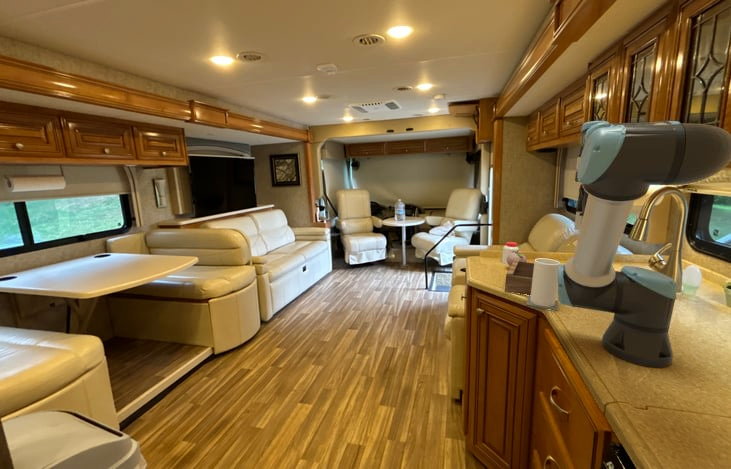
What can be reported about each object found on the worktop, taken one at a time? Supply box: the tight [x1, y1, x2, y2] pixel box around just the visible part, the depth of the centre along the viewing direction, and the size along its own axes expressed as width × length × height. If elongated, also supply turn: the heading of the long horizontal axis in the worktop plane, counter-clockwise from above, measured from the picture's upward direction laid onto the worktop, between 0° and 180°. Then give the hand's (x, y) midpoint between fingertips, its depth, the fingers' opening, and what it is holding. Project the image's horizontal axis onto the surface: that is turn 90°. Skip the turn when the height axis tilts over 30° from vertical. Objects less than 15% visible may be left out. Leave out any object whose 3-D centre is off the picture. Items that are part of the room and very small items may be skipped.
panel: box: [525, 295, 559, 312], centre depth 124 cm, size 10×10×1 cm
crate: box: [504, 259, 534, 295], centre depth 142 cm, size 26×16×8 cm, turn 150°
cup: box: [530, 257, 561, 307], centre depth 122 cm, size 8×8×16 cm
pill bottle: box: [501, 241, 520, 265], centre depth 176 cm, size 8×8×11 cm
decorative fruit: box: [507, 250, 528, 267], centre depth 164 cm, size 9×8×10 cm
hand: (580, 232), depth 114 cm, fingers open, 13 cm apart
